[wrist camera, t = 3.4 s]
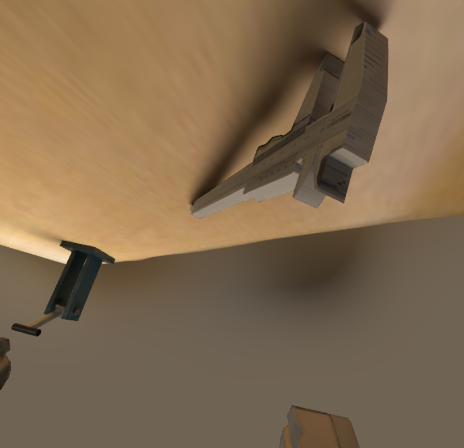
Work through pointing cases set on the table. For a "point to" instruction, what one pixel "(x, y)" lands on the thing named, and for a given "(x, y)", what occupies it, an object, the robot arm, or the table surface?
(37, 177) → the table surface
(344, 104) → the caliper
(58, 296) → the bracket
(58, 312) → the lever
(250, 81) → the table surface
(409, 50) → the table surface
